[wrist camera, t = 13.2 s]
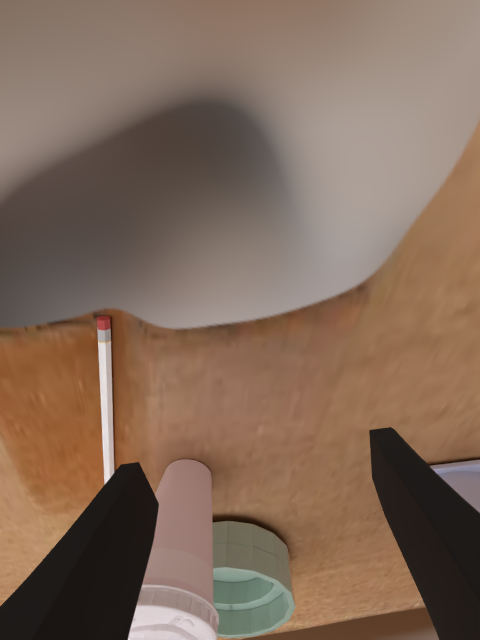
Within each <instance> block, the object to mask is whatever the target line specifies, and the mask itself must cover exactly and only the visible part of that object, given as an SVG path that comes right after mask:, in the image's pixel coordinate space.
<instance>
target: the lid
mask: <svg viewBox="0 0 480 640" xmlns="http://www.w3.org/2000/svg"><path fill="white" fill-rule="evenodd" d="M212 534H213V606H214V607H215V609H216V611H217V612H218V614H219V625H218V631H217V637H225V638H239V637H253V636H257V635H260V634H263V633H267V632H270V631H274V630H275V629H277V628H278V627H280V626H281V625H283V624H284V623H286V622H287V621H289V619H290V617H291V615H292V613H293V611H294V609H295V598H294V588H293V579H292V569H291V560H290V556H289V552H288V548H287V546H286V545H285V544H284V543H283V542H282V541H281V540H280V539H279V538H278V537H277V536H276V535H275V534H274V533H272V532H270V531H268V530H265V529H263V528H261V527H259V526H256V525H254V524H249V523H241V522H234V521H221V522H212Z"/></svg>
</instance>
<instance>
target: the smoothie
mask: <svg viewBox="0 0 480 640" xmlns="http://www.w3.org/2000/svg"><path fill="white" fill-rule="evenodd" d="M155 497H156V499H157V501H158V503H159V509H158V516H157V523H156V529H155V535H154V541H153V545H152V549H151V553H150V557H149V561H148V565H147V568H146V572H145V576H144V580H143V583H142V587H141V591H140V595H139V598H138V602H137V606H136V610H135V613H134V617H133V621H132V625H131V628H130V632H129V637H128V640H217V631H218V625H219V614H218V612H217V611H216V609H215V607H214V606H213V534H212V476H211V472H210V470H209V469H208V468H207V467H206V466H205V465H204V464H202V463H200V462H198V461H195V460H191V459H181V460H177V461H174V462H172V463H171V464H169V465H168V466H167V468H166V470H165V472H164V475H163V477H162V479H161V482H160V484H159V486H158V489H157V491H156V493H155Z"/></svg>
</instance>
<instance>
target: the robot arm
mask: <svg viewBox="0 0 480 640" xmlns="http://www.w3.org/2000/svg"><path fill="white" fill-rule="evenodd" d="M369 431H370V448H371V465H372V479H373V482H374V485H375V488H376V491H377V494H378V497H379V500H380V503H381V505H382V508H383V511H384V514H385V517H386V519H387V521H388V523H389V526H390V528H391V530H392V532H393V535H394V537H395V539H396V541H397V544H398V546H399V548H400V550H401V552H402V555H403V557H404V559H405V561H406V563H407V566H408V568H409V570H410V572H411V575H412V577H413V579H414V581H415V583H416V586H417V588H418V590H419V592H420V594H421V597H422V599H423V601H424V603H425V606H426V608H427V610H428V613H429V615H430V617H431V619H432V622H433V625H434V627H435V629H436V632H437V635H438V637H439V640H480V460H473V461H465V462H456V463H448V464H440V465H432V466H429V465H428V464H427V463H426V462H425V461H424V460H423V459H422V458H421V457H420V456H419V455H418V454H417V453H416V452H415V451H414V450H413V449H412V448H411V447H410V446H409V445H408V444H407V443H406V442H405V441H404V439H403V438H402V437H401V436H400V435H399V434H398V433H397V432H396V431H395V430H394V429H393V428H391V427H389V428H382V429H375V430H369ZM158 509H159V503H158V501H157V499H156V497H155V494H154V492H153V490H152V488H151V486H150V484H149V482H148V480H147V478H146V476H145V474H144V472H143V470H142V468H141V466H140V464H139V462H137V463H129V464H122V465H120V467H119V468H118V469H117V470H116V471H115V473H114V474H113V475H112V476H111V478H110V479H109V480H108V481H107V483H106V484H105V485H104V486H103V488H102V489H101V490H100V491H99V493H98V494H97V495H96V497H95V498H94V499H93V500H92V502H91V503H90V504H89V505H88V507H87V508H86V509H85V510H84V512H83V513H82V514H81V515H80V517H79V518H78V519H77V520H76V521H75V523H74V524H73V525H72V526H71V528H70V529H69V530H68V531H67V533H66V534H65V535H64V536H63V537H62V539H61V540H60V541H59V542H58V543H57V544H56V545H55V547H54V548H53V549H52V550H51V551H50V552H49V554H48V555H47V556H46V557H45V558H44V559H43V561H42V562H41V563H40V564H39V565H38V566H37V568H36V569H35V570H34V571H33V572H32V573H31V574H30V575H29V577H28V578H27V579H26V580H25V581H24V582H23V583H22V584H21V585H20V586H19V587H18V589H17V590H16V591H15V592H14V593H13V594H12V595H11V596H10V597H9V598H8V599H7V600H6V601H5V602H4V603H3V604H2V605H1V606H0V640H128V637H129V632H130V628H131V625H132V621H133V617H134V613H135V610H136V606H137V602H138V598H139V595H140V591H141V587H142V583H143V580H144V576H145V572H146V568H147V565H148V561H149V557H150V553H151V549H152V545H153V541H154V535H155V529H156V523H157V516H158Z"/></svg>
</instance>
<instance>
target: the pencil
mask: <svg viewBox="0 0 480 640" xmlns="http://www.w3.org/2000/svg"><path fill="white" fill-rule="evenodd" d="M97 329H98V351H99V373H100V395H101V417H102V439H103V461H104V483H105V484H106V483H107V481H108V480H109V479H110V478H111V476H112V475H113V474H114V442H113V403H112V365H111V326H110V317H109V316H99V317H97Z"/></svg>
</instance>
